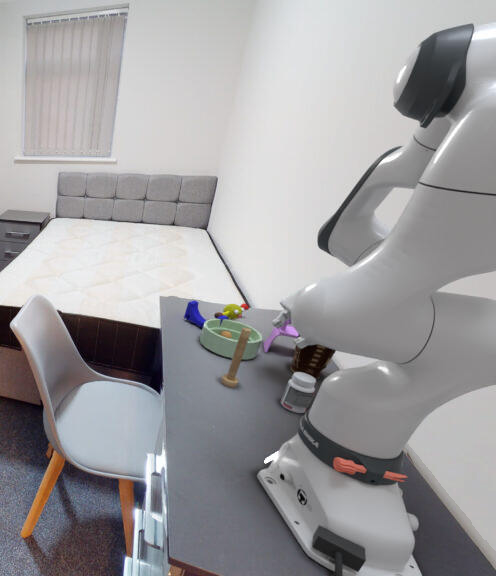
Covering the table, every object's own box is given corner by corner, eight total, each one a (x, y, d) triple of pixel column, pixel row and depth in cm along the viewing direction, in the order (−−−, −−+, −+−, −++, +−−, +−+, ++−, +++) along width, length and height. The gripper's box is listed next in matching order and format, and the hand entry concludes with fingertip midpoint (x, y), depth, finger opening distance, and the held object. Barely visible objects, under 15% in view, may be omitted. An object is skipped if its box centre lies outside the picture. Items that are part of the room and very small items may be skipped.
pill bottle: (310, 415, 84) (323, 384, 81) (286, 412, 85) (299, 381, 81) (298, 401, 88) (310, 372, 85) (276, 398, 89) (287, 369, 86)
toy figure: (222, 332, 119) (228, 313, 117) (205, 324, 124) (210, 306, 121) (252, 320, 128) (258, 302, 125) (236, 314, 132) (241, 296, 129)
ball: (231, 343, 112) (234, 334, 110) (220, 341, 113) (222, 333, 111) (228, 338, 114) (231, 330, 113) (217, 337, 115) (220, 328, 114)
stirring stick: (238, 389, 92) (257, 334, 86) (222, 385, 93) (240, 331, 87) (235, 380, 95) (253, 327, 89) (219, 377, 96) (236, 324, 90)
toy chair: (303, 363, 103) (323, 315, 98) (265, 353, 108) (282, 307, 102) (298, 350, 110) (317, 304, 104) (263, 341, 114) (278, 297, 108)
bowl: (263, 365, 102) (270, 346, 100) (204, 355, 106) (209, 337, 104) (247, 340, 115) (253, 323, 113) (195, 332, 119) (200, 315, 117)
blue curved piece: (225, 332, 118) (231, 316, 116) (216, 335, 117) (222, 319, 114) (192, 314, 128) (197, 299, 125) (183, 317, 126) (188, 302, 124)
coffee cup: (311, 364, 103) (328, 323, 98) (334, 382, 95) (354, 339, 90) (278, 362, 104) (293, 321, 99) (298, 380, 96) (316, 336, 91)
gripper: (310, 274, 91) (255, 306, 96) (376, 310, 72) (303, 347, 77) (324, 292, 92) (268, 323, 97) (392, 332, 73) (319, 367, 78)
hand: (284, 334), depth 87 cm, fingers open, 8 cm apart
